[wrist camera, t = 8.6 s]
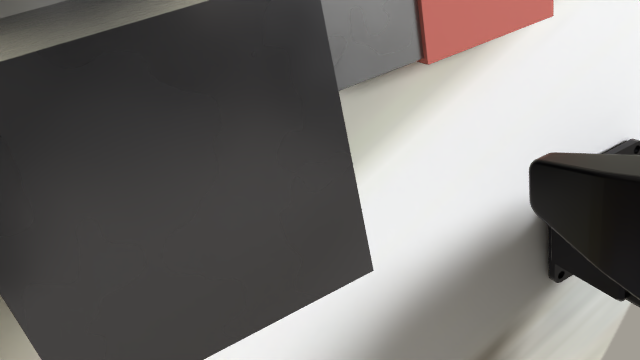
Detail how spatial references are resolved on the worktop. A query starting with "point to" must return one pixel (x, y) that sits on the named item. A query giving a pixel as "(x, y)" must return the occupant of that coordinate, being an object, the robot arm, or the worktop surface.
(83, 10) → the brushed grey cube
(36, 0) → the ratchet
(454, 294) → the worktop surface
